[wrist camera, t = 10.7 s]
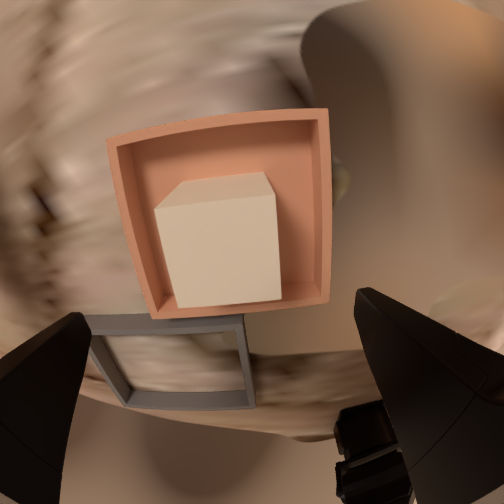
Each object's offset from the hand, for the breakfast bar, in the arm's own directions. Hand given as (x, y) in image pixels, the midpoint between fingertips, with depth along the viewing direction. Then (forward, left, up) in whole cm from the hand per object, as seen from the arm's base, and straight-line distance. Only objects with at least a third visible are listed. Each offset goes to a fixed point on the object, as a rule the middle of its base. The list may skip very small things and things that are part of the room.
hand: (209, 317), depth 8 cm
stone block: (0, 0, -10) cm, 10 cm away
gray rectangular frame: (+7, +13, -11) cm, 18 cm away
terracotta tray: (0, 0, -11) cm, 11 cm away
